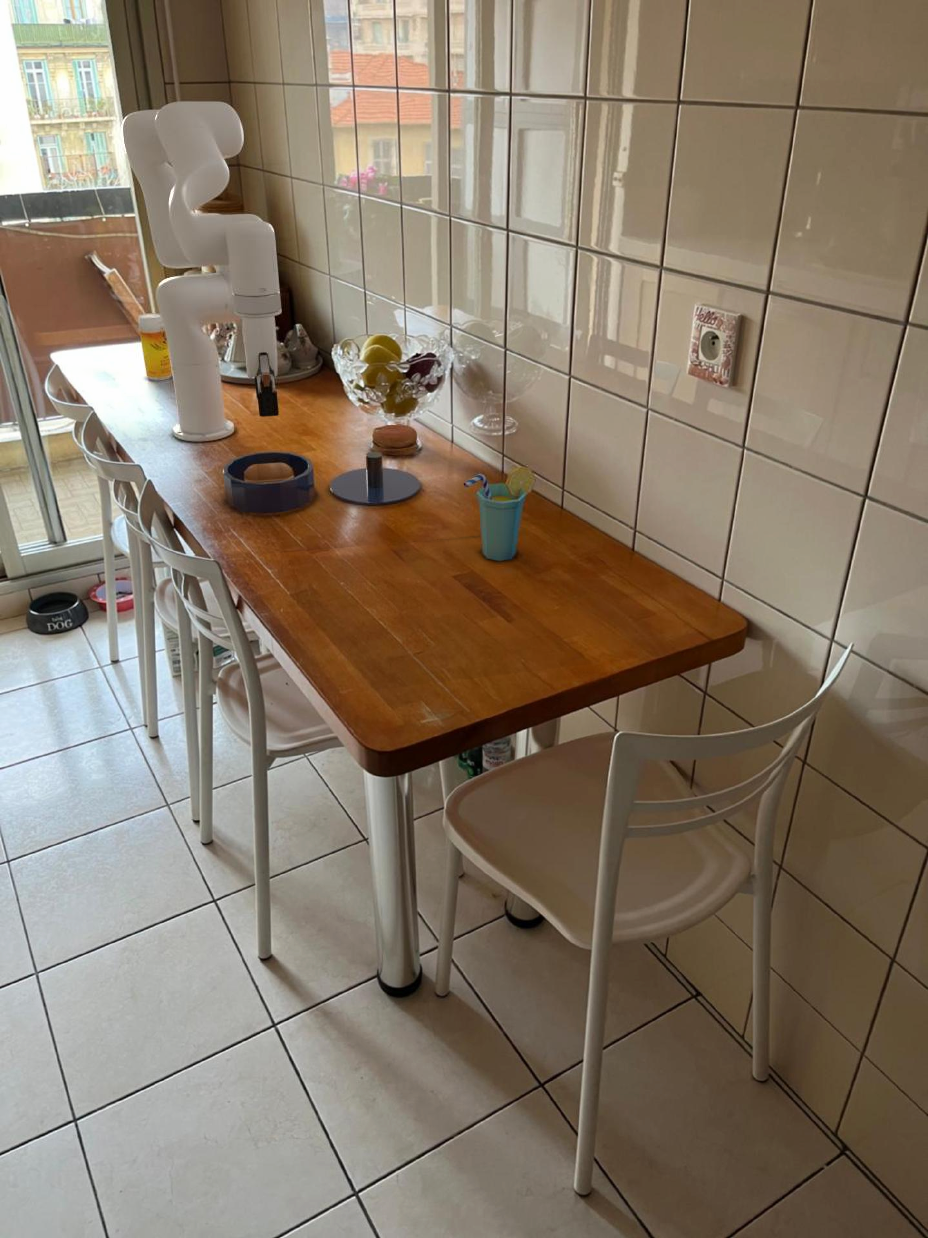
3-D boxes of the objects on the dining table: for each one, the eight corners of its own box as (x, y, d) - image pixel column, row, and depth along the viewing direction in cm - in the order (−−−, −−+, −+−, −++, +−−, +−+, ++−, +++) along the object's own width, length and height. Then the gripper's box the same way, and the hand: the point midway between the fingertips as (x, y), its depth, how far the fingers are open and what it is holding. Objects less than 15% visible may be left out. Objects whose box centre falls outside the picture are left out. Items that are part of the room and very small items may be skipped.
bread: (246, 503, 163) (242, 471, 160) (245, 491, 168) (242, 460, 164) (296, 499, 165) (294, 468, 162) (294, 487, 169) (291, 457, 166)
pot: (226, 484, 171) (222, 454, 168) (310, 478, 175) (308, 448, 171) (227, 519, 158) (223, 486, 155) (318, 512, 162) (316, 480, 158)
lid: (325, 476, 176) (323, 441, 172) (411, 470, 179) (410, 436, 175) (335, 512, 162) (333, 474, 158) (428, 504, 165) (427, 467, 162)
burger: (423, 455, 186) (423, 433, 184) (379, 460, 183) (378, 438, 181) (410, 439, 194) (409, 418, 192) (367, 444, 191) (366, 422, 189)
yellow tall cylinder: (168, 381, 227) (159, 318, 219) (143, 380, 227) (133, 318, 219) (175, 374, 232) (166, 312, 224) (151, 373, 232) (141, 312, 224)
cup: (480, 577, 142) (483, 486, 134) (446, 559, 147) (447, 471, 139) (542, 550, 150) (547, 463, 142) (508, 534, 155) (512, 450, 147)
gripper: (232, 293, 156) (243, 393, 164) (235, 316, 141) (247, 424, 150) (277, 292, 157) (286, 391, 166) (284, 314, 143) (293, 421, 151)
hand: (267, 406), depth 158 cm, fingers open, 9 cm apart
